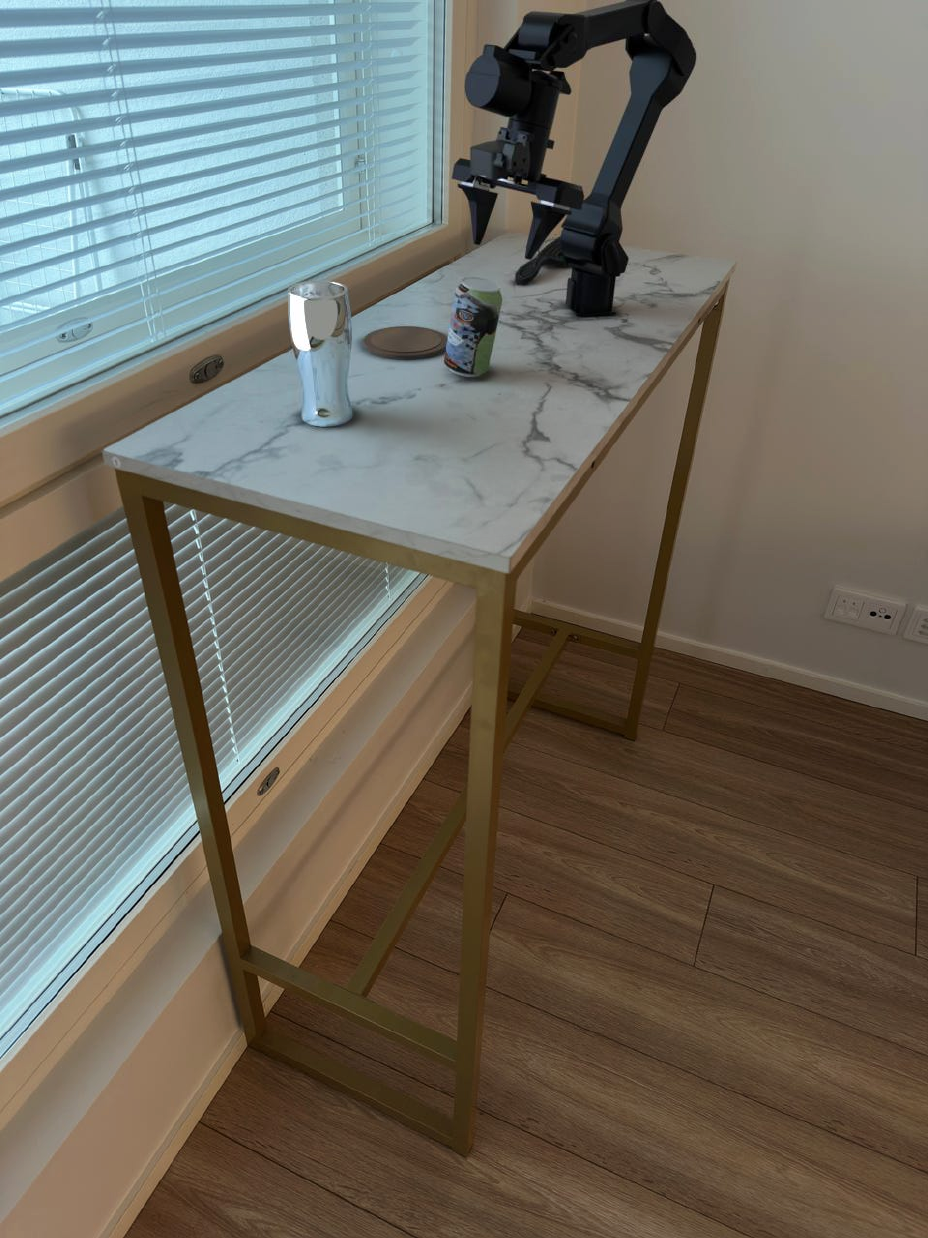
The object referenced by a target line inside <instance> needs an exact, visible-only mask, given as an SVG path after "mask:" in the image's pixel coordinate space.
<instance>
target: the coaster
mask: <svg viewBox="0 0 928 1238" xmlns="http://www.w3.org/2000/svg"><path fill="white" fill-rule="evenodd" d="M447 339H448V336H447V335H445V334H444V333H442V332H440V331H438V330H435V329H432V328H428V327H424V326H423V327H422V326H413V325H396V326H388V327H383V328H379V329H376V330H374V331H371V332H369V333H368V334H366V336H364V338H363V347H364V349H365V350H366V351H368V353H370V354H372V355H375V356H378V357H380V358H385V359H392V360H404V361H405V360H407V361H408V360H421V359H426V358H431V357H434V356H438V355H440V354H441V353H444V352H445V351H446V345H447Z"/></svg>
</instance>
